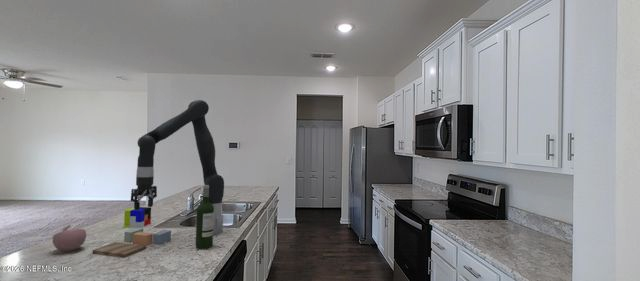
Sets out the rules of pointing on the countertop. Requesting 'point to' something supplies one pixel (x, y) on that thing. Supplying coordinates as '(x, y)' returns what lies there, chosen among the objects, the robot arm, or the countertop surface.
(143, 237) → the terracotta brick
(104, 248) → the walnut board
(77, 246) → the mortar and pestle
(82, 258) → the countertop surface
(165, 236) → the slate brick
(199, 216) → the wine bottle
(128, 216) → the puzzle toy
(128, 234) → the sage brick
